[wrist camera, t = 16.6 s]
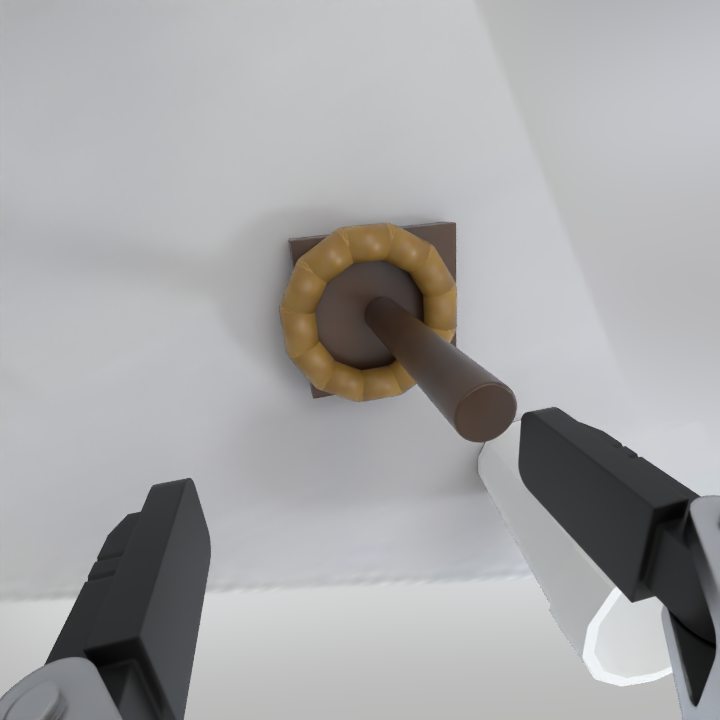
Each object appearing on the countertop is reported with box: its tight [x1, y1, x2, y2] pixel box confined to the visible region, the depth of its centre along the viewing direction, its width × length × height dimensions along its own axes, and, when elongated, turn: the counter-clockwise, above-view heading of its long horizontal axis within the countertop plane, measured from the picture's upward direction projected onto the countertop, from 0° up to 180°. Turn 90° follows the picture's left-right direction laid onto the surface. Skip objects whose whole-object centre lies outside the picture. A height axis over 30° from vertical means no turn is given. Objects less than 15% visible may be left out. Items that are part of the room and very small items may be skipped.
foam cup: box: [478, 420, 673, 686], centre depth 25 cm, size 10×9×13 cm
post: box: [289, 222, 517, 442], centre depth 18 cm, size 9×9×14 cm
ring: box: [279, 223, 457, 402], centre depth 22 cm, size 10×10×2 cm
